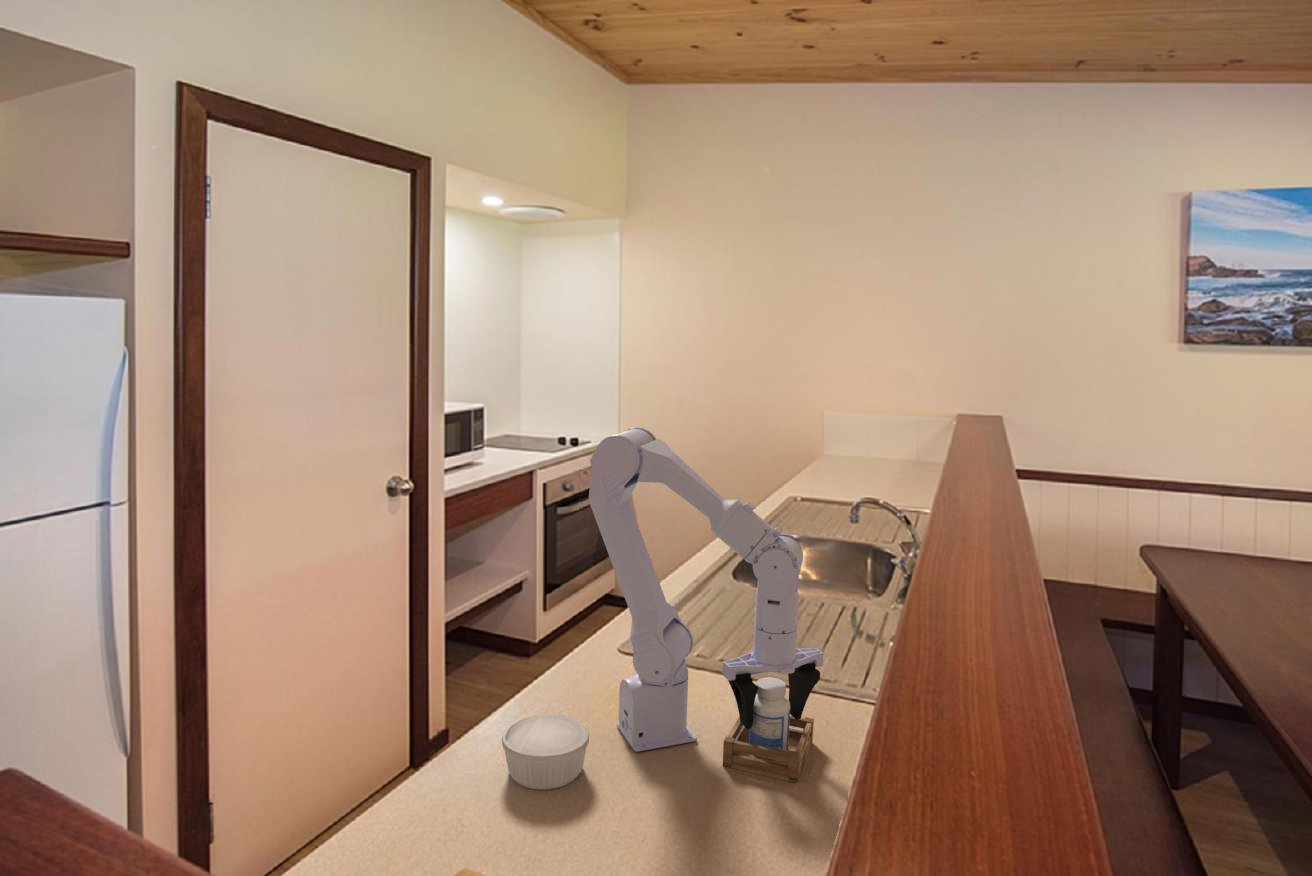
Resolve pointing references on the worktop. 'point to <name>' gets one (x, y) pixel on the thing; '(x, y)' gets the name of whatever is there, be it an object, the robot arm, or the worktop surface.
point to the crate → (769, 751)
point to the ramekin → (545, 750)
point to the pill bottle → (771, 715)
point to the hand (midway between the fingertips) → (770, 720)
